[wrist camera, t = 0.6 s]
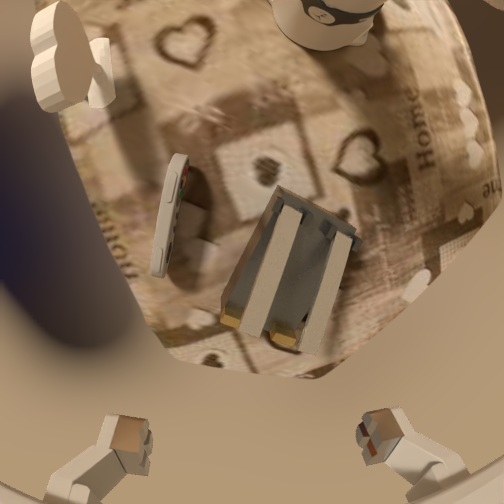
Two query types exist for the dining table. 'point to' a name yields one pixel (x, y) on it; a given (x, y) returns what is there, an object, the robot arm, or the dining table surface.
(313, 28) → the robot arm
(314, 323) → the strap far
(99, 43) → the heart sculpture
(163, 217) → the game controller
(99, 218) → the dining table surface
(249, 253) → the grey boxy piece
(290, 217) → the strap near
